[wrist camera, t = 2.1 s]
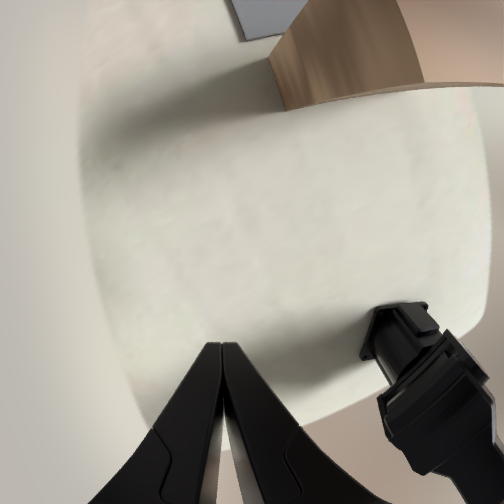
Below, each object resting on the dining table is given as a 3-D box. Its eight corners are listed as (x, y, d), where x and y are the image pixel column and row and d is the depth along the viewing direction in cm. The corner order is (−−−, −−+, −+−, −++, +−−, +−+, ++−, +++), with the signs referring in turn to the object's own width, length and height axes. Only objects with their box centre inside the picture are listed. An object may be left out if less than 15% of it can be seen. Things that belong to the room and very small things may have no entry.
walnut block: (406, 90, 17) (566, 93, 4) (285, 111, 17) (425, 82, 4) (392, 43, 15) (541, 7, 2) (268, 57, 16) (362, -63, 3)
